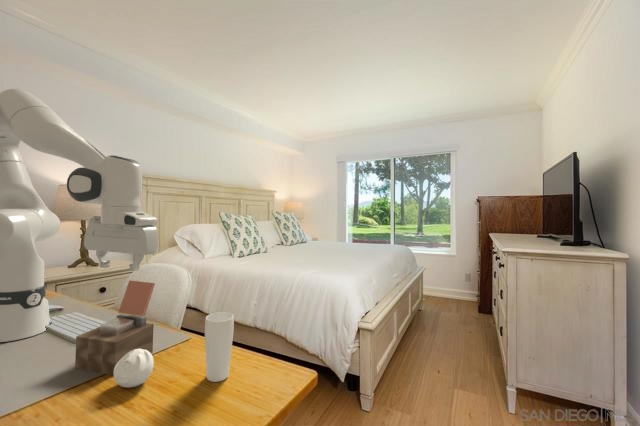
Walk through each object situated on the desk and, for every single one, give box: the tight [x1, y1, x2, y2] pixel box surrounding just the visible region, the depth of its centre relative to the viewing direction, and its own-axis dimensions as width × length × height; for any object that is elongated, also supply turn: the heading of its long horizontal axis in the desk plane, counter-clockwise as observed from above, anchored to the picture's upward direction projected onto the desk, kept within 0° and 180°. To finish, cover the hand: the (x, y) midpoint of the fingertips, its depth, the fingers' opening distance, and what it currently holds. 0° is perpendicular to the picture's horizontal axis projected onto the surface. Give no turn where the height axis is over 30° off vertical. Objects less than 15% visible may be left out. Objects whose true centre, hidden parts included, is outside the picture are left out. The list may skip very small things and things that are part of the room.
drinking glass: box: [204, 311, 235, 383], centre depth 72 cm, size 7×7×15 cm
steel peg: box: [99, 317, 134, 335], centre depth 78 cm, size 5×5×9 cm
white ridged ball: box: [113, 348, 155, 389], centre depth 68 cm, size 8×8×8 cm
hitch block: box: [74, 313, 154, 376], centre depth 78 cm, size 12×12×10 cm
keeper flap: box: [118, 280, 156, 317], centre depth 84 cm, size 9×8×1 cm
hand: (119, 268), depth 78 cm, fingers open, 8 cm apart
